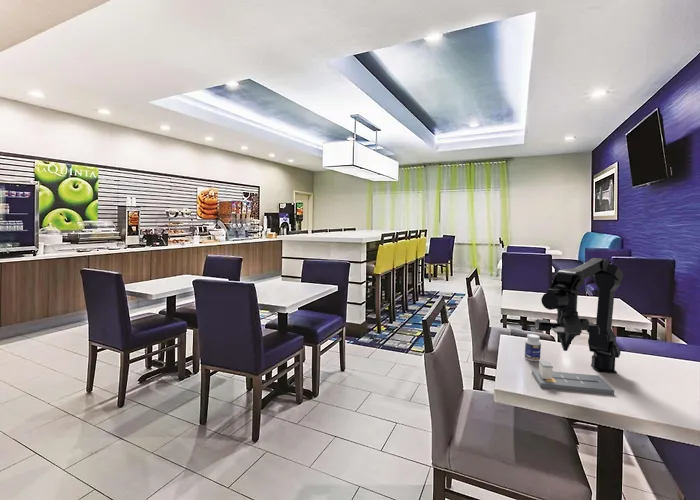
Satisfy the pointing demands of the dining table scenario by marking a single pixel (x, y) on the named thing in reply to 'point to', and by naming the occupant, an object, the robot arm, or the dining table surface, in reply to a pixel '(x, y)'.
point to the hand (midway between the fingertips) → (565, 350)
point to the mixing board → (574, 382)
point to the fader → (545, 369)
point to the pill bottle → (532, 347)
